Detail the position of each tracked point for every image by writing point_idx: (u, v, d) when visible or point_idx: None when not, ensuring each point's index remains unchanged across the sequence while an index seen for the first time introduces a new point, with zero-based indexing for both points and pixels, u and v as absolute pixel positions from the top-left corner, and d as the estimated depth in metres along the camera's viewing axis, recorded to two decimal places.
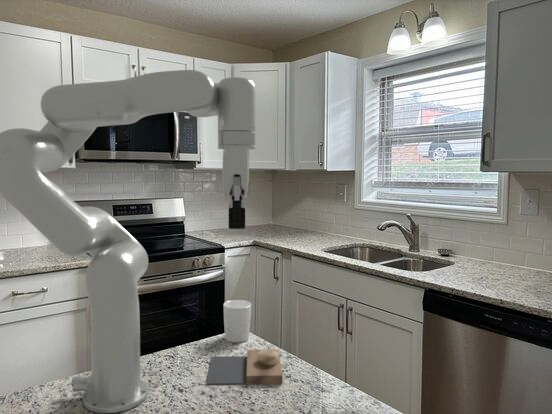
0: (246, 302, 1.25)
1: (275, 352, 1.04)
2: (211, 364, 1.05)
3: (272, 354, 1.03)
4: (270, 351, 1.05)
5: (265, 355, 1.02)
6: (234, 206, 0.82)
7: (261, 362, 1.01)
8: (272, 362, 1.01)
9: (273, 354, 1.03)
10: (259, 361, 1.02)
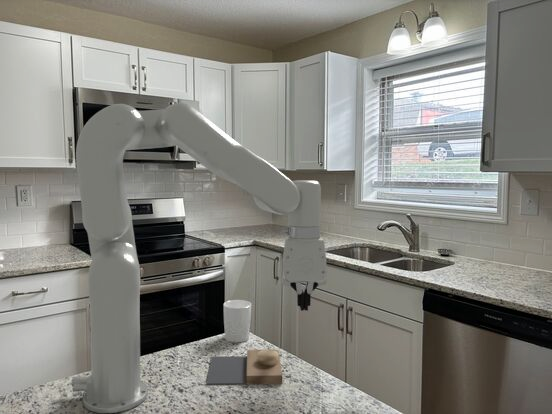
0: (246, 302, 1.25)
1: (275, 352, 1.04)
2: (211, 364, 1.05)
3: (272, 354, 1.03)
4: (270, 351, 1.05)
5: (265, 355, 1.02)
6: None
7: (261, 362, 1.01)
8: (272, 362, 1.01)
9: (273, 354, 1.03)
10: (259, 361, 1.02)
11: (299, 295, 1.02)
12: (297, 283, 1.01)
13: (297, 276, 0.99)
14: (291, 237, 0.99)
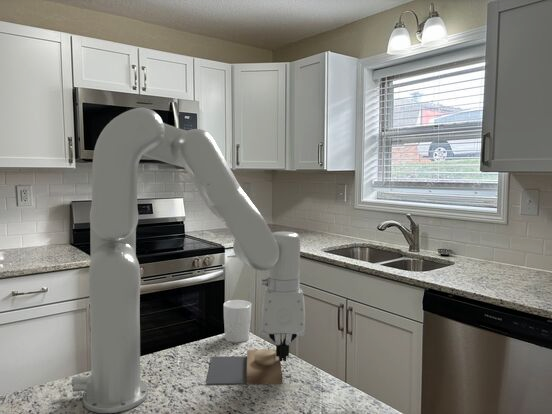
0: (246, 302, 1.25)
1: (272, 352, 1.04)
2: (211, 364, 1.05)
3: (269, 354, 1.03)
4: (267, 350, 1.05)
5: (262, 355, 1.02)
6: None
7: (258, 362, 1.01)
8: (269, 362, 1.01)
9: (271, 354, 1.03)
10: (255, 360, 1.02)
11: (278, 346, 1.02)
12: (276, 334, 1.01)
13: (275, 328, 1.00)
14: (270, 289, 1.00)
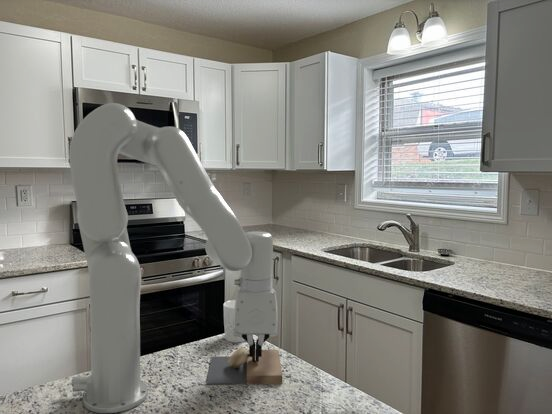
0: None
1: (242, 349, 1.04)
2: (211, 364, 1.05)
3: (238, 353, 1.03)
4: (239, 349, 1.05)
5: (233, 358, 1.03)
6: None
7: (232, 366, 1.02)
8: (240, 361, 1.01)
9: (240, 352, 1.03)
10: None
11: (250, 346, 1.02)
12: (248, 334, 1.01)
13: (247, 329, 0.99)
14: (242, 289, 1.00)
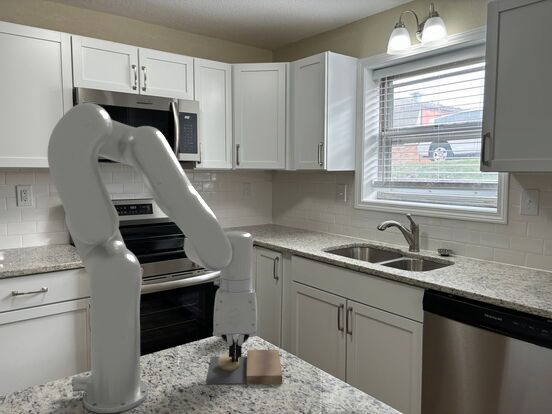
0: None
1: None
2: (211, 364, 1.05)
3: None
4: None
5: (225, 360, 1.03)
6: None
7: (220, 367, 1.02)
8: (230, 368, 1.02)
9: None
10: (218, 365, 1.03)
11: (230, 346, 1.02)
12: (228, 335, 1.01)
13: (227, 329, 0.99)
14: (221, 289, 0.99)
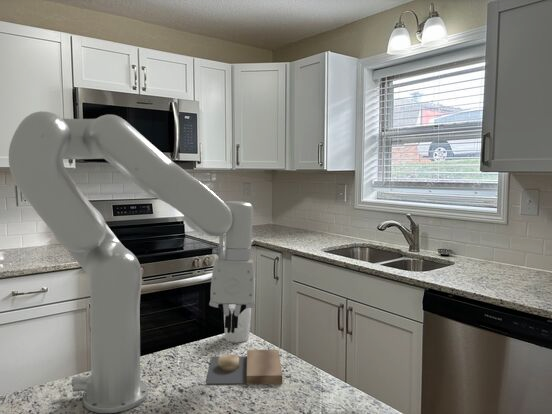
0: None
1: (236, 358, 1.04)
2: (211, 364, 1.05)
3: (232, 360, 1.03)
4: (232, 356, 1.05)
5: (225, 360, 1.03)
6: None
7: (220, 367, 1.02)
8: (230, 368, 1.02)
9: (233, 360, 1.03)
10: (218, 365, 1.03)
11: (226, 317, 1.01)
12: (224, 305, 1.00)
13: (223, 298, 0.98)
14: (220, 258, 0.99)
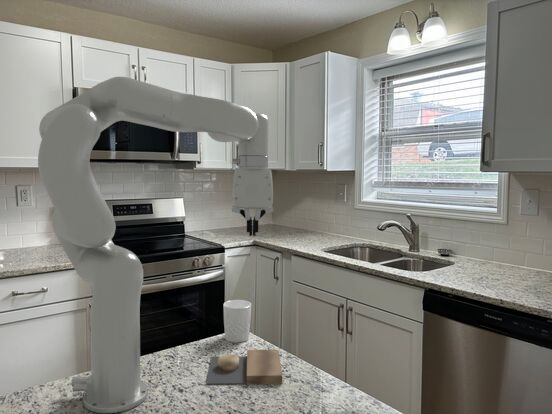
0: (245, 302, 1.25)
1: (236, 358, 1.04)
2: (211, 364, 1.05)
3: (232, 360, 1.03)
4: (232, 356, 1.05)
5: (225, 360, 1.03)
6: None
7: (220, 367, 1.02)
8: (230, 368, 1.02)
9: (233, 360, 1.03)
10: (218, 365, 1.03)
11: (248, 221, 1.09)
12: (245, 210, 1.09)
13: (245, 203, 1.07)
14: (240, 166, 1.07)
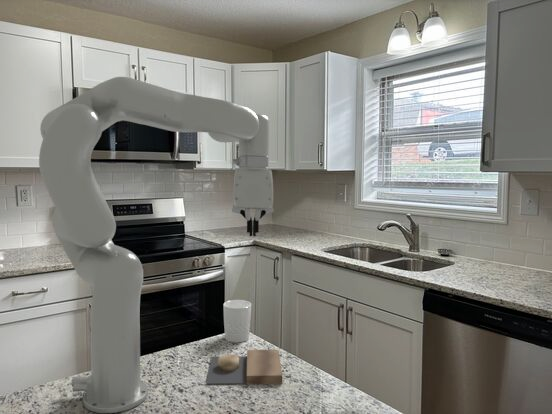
0: (245, 302, 1.25)
1: (236, 358, 1.04)
2: (211, 364, 1.05)
3: (232, 360, 1.03)
4: (232, 356, 1.05)
5: (225, 360, 1.03)
6: (258, 220, 1.10)
7: (220, 367, 1.02)
8: (230, 368, 1.02)
9: (233, 360, 1.03)
10: (218, 365, 1.03)
11: (248, 222, 1.10)
12: (246, 210, 1.09)
13: (245, 203, 1.07)
14: (240, 166, 1.07)
